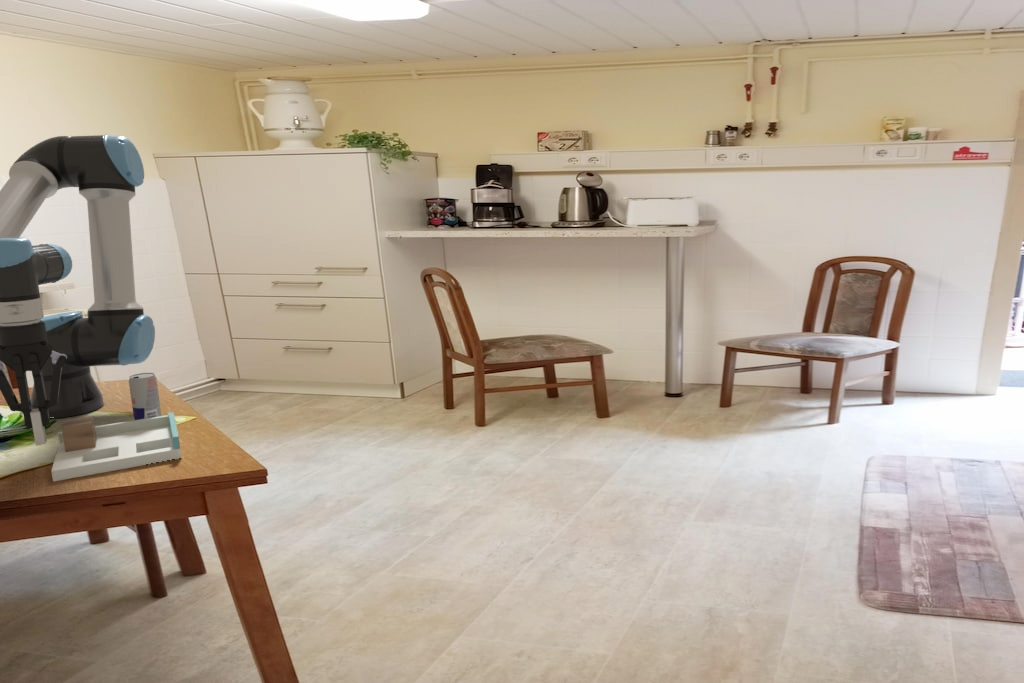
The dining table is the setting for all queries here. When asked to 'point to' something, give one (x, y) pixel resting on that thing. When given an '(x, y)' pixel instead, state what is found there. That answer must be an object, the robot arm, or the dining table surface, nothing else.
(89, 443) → the walnut block
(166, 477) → the dining table surface
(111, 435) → the board
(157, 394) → the energy drink
